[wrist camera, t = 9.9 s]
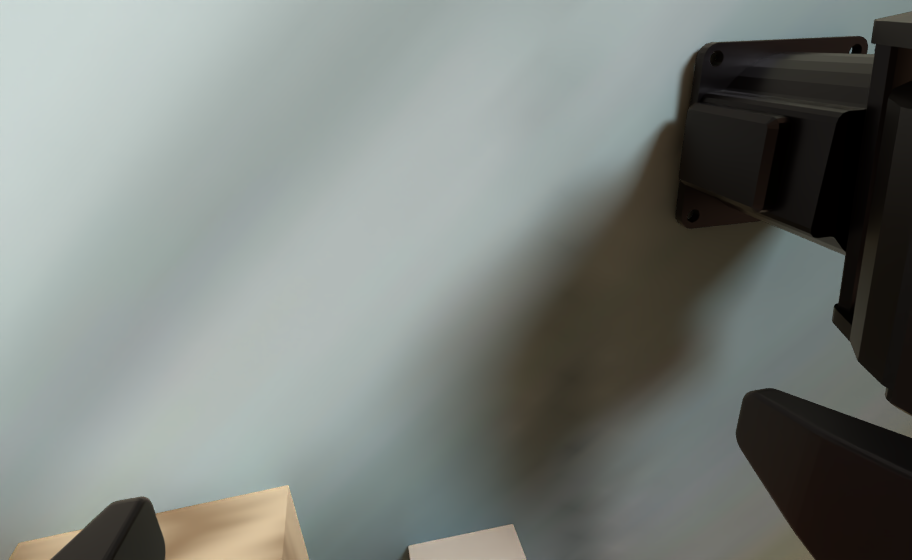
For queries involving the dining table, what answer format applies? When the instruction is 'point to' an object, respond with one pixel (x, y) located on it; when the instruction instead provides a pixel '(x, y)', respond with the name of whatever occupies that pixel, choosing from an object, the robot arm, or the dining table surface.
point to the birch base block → (213, 531)
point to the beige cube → (472, 546)
